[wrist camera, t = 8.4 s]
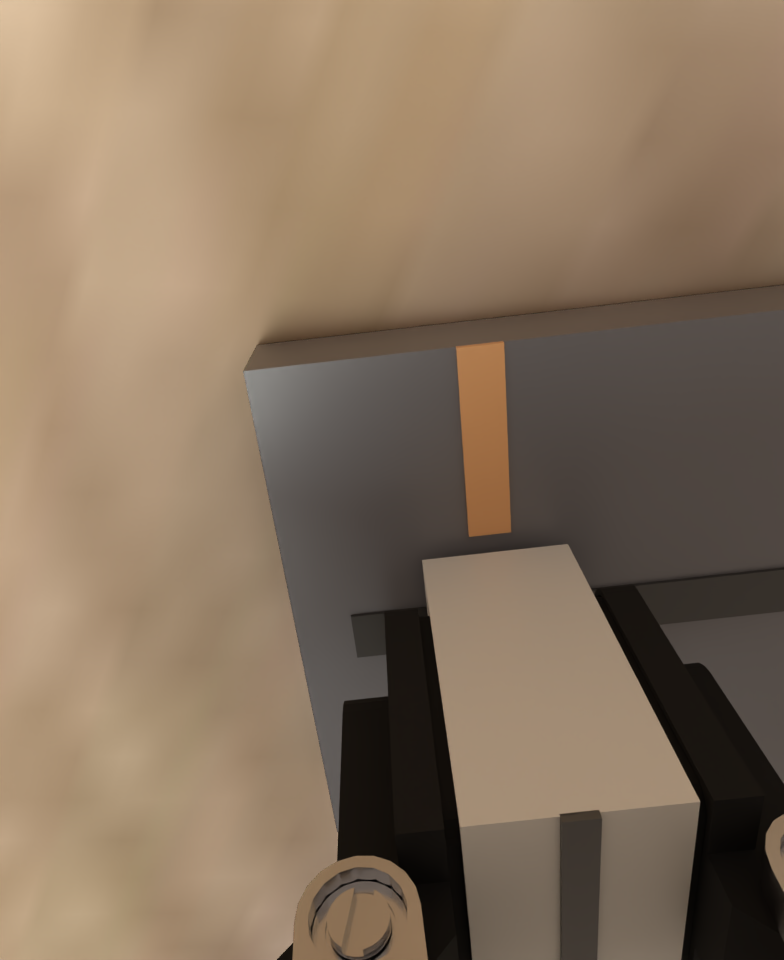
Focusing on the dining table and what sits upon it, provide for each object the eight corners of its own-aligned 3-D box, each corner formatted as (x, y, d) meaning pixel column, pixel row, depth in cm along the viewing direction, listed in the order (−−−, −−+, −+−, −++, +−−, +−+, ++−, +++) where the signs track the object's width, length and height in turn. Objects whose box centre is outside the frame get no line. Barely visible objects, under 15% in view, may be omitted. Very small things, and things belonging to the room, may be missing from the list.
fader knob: (567, 693, 13) (679, 995, 8) (437, 707, 13) (477, 1015, 8) (567, 543, 11) (703, 807, 7) (422, 559, 12) (460, 832, 7)
